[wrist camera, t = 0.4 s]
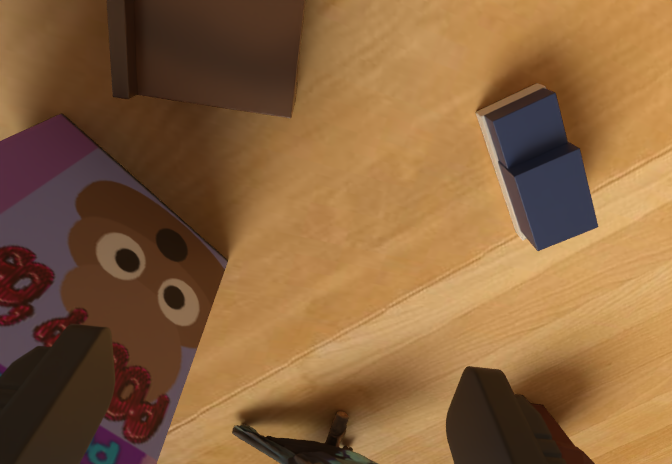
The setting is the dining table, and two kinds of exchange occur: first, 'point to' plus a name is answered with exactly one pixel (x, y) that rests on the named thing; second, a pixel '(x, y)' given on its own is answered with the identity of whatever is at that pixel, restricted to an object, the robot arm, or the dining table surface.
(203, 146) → the dining table surface
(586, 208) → the blue stepped block
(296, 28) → the shelf
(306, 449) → the bird figurine
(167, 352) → the cereal box
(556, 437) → the muffin
